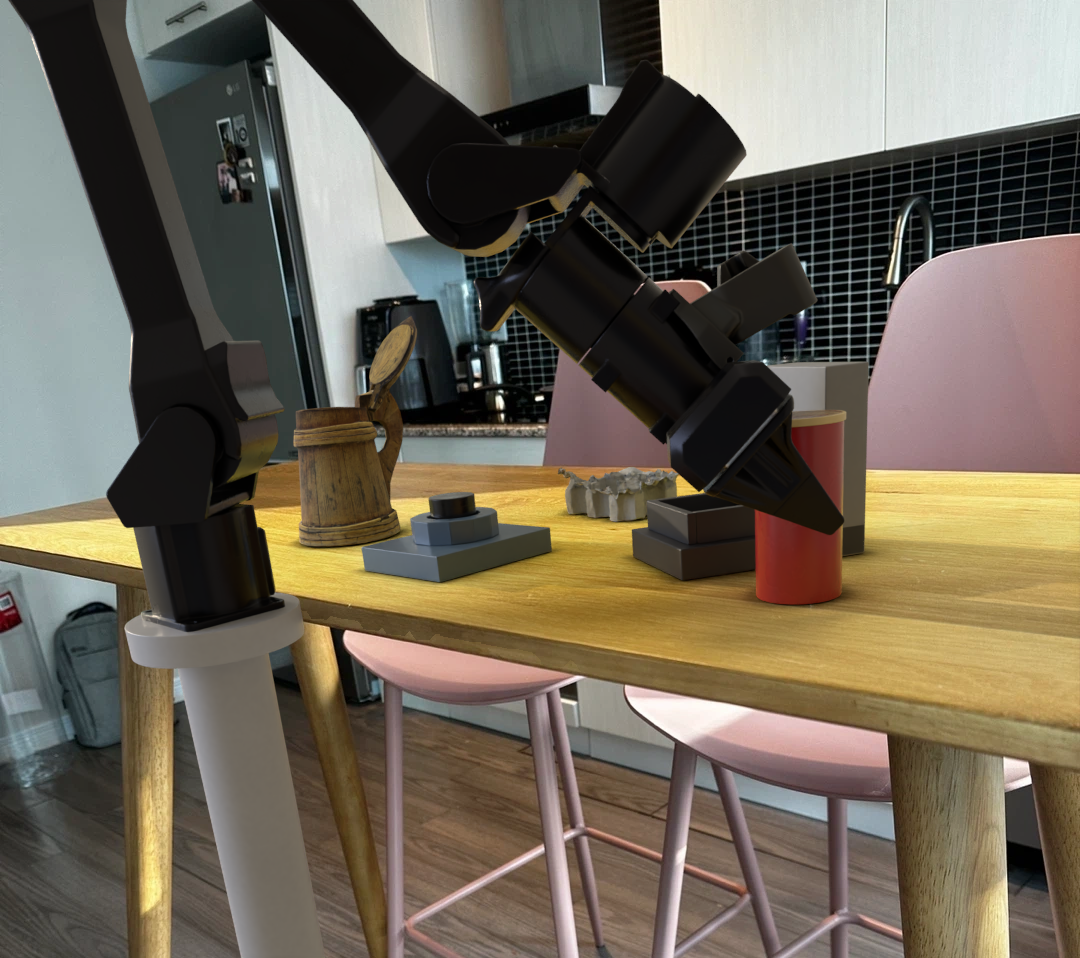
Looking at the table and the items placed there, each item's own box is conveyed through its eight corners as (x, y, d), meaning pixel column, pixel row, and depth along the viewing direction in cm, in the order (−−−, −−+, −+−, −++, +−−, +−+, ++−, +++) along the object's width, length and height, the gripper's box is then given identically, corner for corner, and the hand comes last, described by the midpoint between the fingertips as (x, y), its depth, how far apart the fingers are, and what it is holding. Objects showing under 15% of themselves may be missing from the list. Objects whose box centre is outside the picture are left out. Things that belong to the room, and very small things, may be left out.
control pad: (440, 582, 71) (433, 532, 70) (364, 570, 77) (357, 524, 76) (552, 551, 78) (548, 504, 77) (474, 542, 84) (469, 499, 83)
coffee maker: (682, 580, 65) (674, 382, 61) (632, 557, 73) (622, 380, 69) (864, 553, 68) (869, 361, 64) (797, 533, 76) (797, 362, 72)
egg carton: (556, 513, 95) (552, 468, 93) (623, 501, 98) (621, 457, 97) (619, 524, 86) (615, 474, 85) (691, 510, 89) (689, 462, 88)
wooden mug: (462, 524, 93) (438, 311, 87) (323, 551, 86) (286, 322, 80) (416, 516, 100) (391, 319, 94) (284, 540, 93) (248, 329, 87)
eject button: (451, 524, 74) (448, 500, 73) (421, 522, 76) (419, 498, 76) (486, 516, 76) (483, 492, 76) (456, 514, 79) (454, 491, 78)
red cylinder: (790, 610, 56) (789, 421, 53) (737, 594, 61) (733, 418, 57) (862, 594, 58) (866, 410, 55) (805, 579, 62) (806, 409, 59)
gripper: (737, 164, 44) (990, 411, 46) (703, 212, 61) (888, 389, 64) (567, 375, 47) (811, 593, 50) (581, 363, 65) (761, 525, 67)
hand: (821, 513), depth 58 cm, fingers open, 9 cm apart
